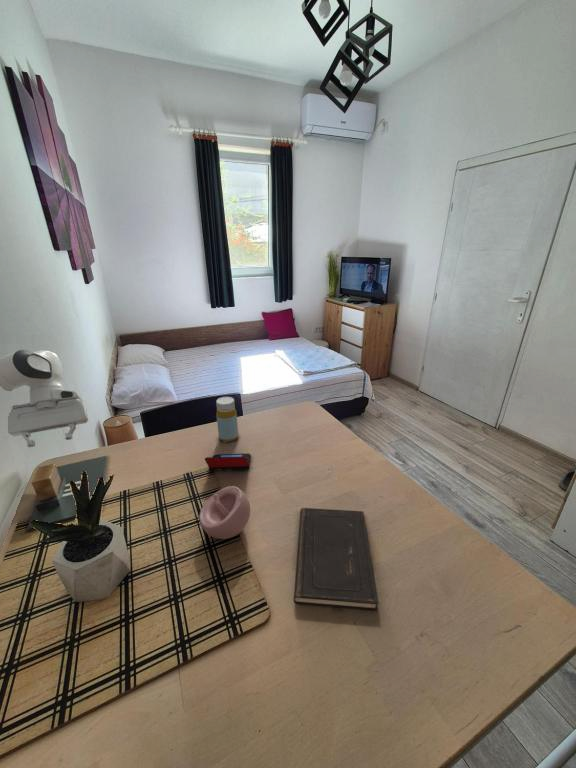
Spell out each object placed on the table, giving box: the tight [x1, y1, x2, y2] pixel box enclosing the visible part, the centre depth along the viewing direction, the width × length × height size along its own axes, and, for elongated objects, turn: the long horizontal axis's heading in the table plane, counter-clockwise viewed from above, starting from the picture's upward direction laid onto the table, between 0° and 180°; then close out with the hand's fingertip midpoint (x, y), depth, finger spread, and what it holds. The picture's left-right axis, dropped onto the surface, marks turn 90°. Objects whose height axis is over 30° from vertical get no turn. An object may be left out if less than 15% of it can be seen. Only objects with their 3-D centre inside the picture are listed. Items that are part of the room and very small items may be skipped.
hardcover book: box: [293, 507, 380, 612], centre depth 72 cm, size 16×23×2 cm
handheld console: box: [204, 453, 252, 472], centre depth 101 cm, size 12×11×7 cm
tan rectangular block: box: [31, 463, 66, 511], centre depth 89 cm, size 5×10×8 cm, turn 24°
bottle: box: [215, 396, 239, 443], centre depth 115 cm, size 7×7×15 cm
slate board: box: [26, 455, 108, 532], centre depth 94 cm, size 16×26×1 cm, turn 24°
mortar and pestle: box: [198, 485, 251, 540], centre depth 78 cm, size 12×12×11 cm
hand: (50, 442), depth 97 cm, fingers open, 8 cm apart
